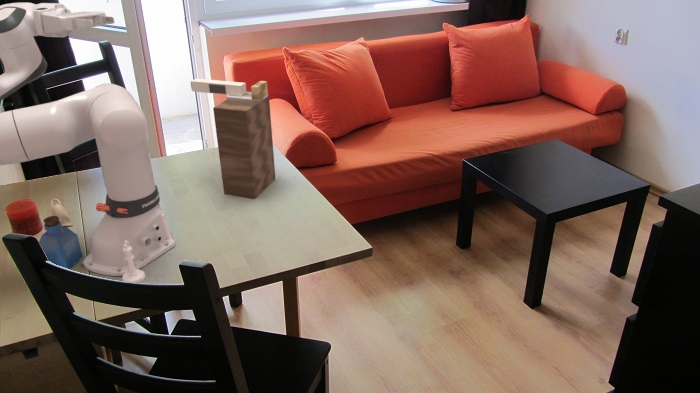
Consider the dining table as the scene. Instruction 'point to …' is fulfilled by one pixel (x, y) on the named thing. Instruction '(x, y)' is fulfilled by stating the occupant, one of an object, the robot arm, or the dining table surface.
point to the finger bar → (218, 87)
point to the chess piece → (131, 266)
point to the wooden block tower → (245, 142)
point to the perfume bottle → (60, 243)
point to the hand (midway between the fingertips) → (103, 21)
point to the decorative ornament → (61, 214)
